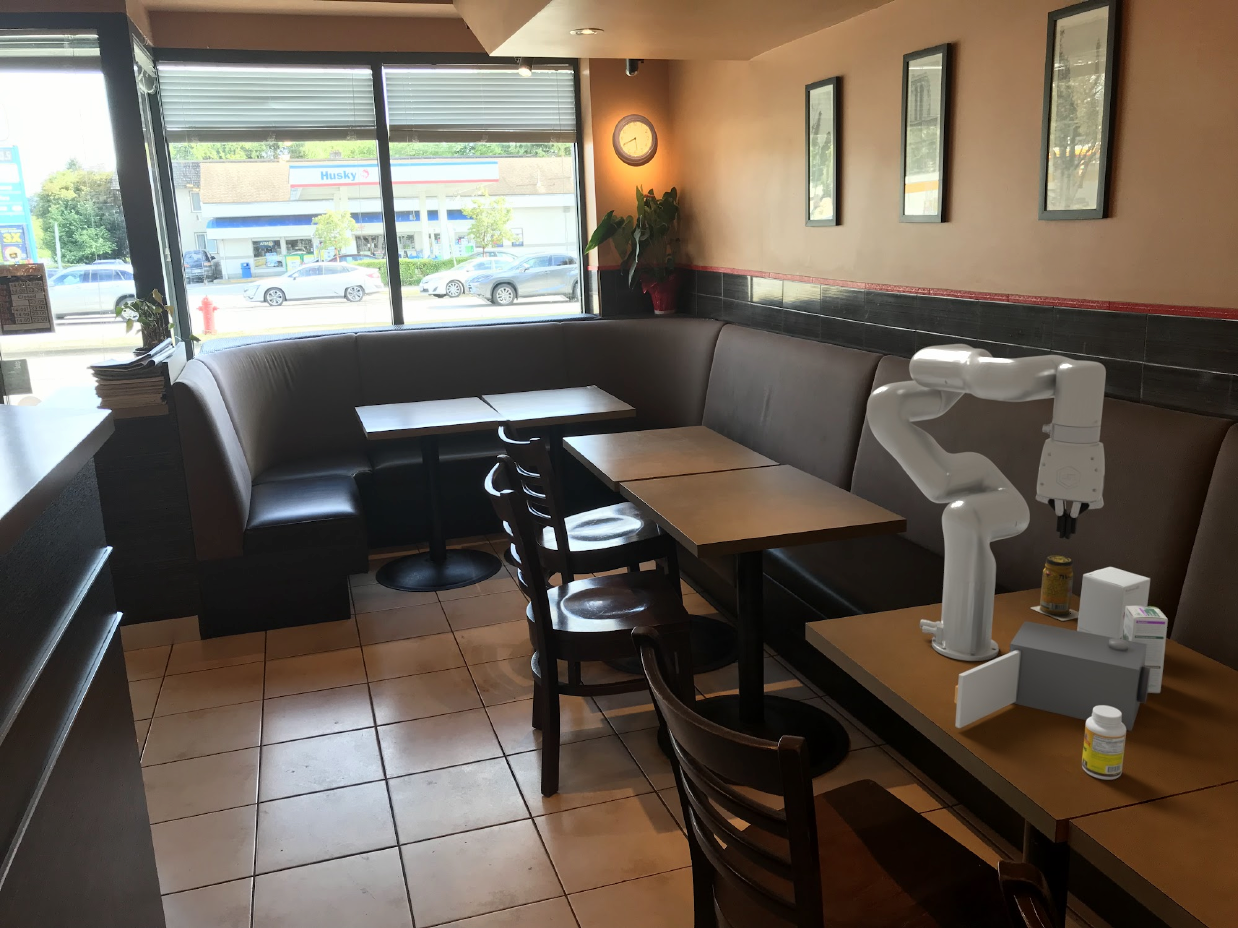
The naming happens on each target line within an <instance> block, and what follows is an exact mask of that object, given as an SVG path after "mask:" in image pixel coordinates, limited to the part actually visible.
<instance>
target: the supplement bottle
mask: <svg viewBox="0 0 1238 928" xmlns="http://www.w3.org/2000/svg"><path fill="white" fill-rule="evenodd" d="M1121 718H1122V713H1121V712H1120V711H1119V710H1118V709H1116V708H1114V707H1110V706H1105V705H1099V706H1095V707H1094V708H1093V713H1092V716H1091V717H1089V718H1088V719H1087V720H1085V727H1084V735H1083V745H1082V746H1083V748H1082V758H1081V767H1082V769H1083V771H1084V772H1085V773H1086V774H1088V775H1089V776H1091V777H1094V778H1096V779H1101V780H1107V781H1108V780H1110V781H1111V780H1115V779H1117V778H1119V777H1121V775H1122V773H1123V762H1124V754H1125V744H1126V735H1127V730H1126V727H1125V725H1124V724H1123V723H1122V722H1121V721H1122V719H1121Z"/></svg>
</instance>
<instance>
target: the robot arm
mask: <svg viewBox="0 0 1238 928" xmlns="http://www.w3.org/2000/svg"><path fill="white" fill-rule="evenodd" d="M908 366H909V367H908V370H909V375H910V377H911V379H912V380H905V381H898V382H892V383H887V384H883V385H882V386H879V387H878V388H876V389H875V390H874V391H872V392H871V394H870V395H869V397H868V400H867V404H866V418H867V420H868V421H867V422H868V426H869V428H870V430H871V432H872V434H873V435H874V437H875V438H876V440H877V441H878V443H879V444H880V445H881V446H882V447H883V448H884V449H885V450H886V451H887V452H888V453H889V454H890V455H891V456H892V457H893V458H894V459H895V460H896V461H897V462H898V464H899V465H900V466H901V468H902V470H903V471H905V473H906V474H907V475H908V476H909V478H910V479H911V480H912V481H913V483H914V484H915V486H916V487H918V489H919V490H920V491H921V492H922V493H923V495H924V496H925V497H926V498H927V499H928V500H929V501H931V502H933V503H935V504H947V505H946V507H945V508H944V510H943V512H942V516H941V525H942V532H943V538H944V539H943V540H944V568H943V569H944V571H943V572H944V573H943V585H942V587H943V589H942V602H941V603H942V604H941V617H940V618H941V619H940V620H941V621H939V620H936V621H931V620H928V619H923V618H922V619H920V622H919V628H920V629H922V633H924V634H930V635H933V636H932V638H931V646H932V649H934V651H936V652H937V653H939V654H941V655H943V656H945V657H947V658H951V659H954V660H959V661H967V662H982V661H983V662H984V661H988V660H989V661H990V660H991V659H995V657H997V655H999V649H1000V648H999V647H1000V646H999V644H998V643H997V642H996V641H995V640H993V639H992V631H993V619H994V618H993V615H994V604H995V603H994V602H995V589H996V576H997V575H996V574H997V563H996V558H995V555H994V554H993V552H992V550H991V546H990V543H991V542H995V541H998V540H1002V539H1008V538H1011V537H1012V538H1013V537H1015V536H1017V535H1020V534H1021V533H1023V532H1024V531H1025V530H1026V529H1027V528H1028V527H1029V523H1030V518H1031V517H1030V509H1029V506H1028V504H1027V501H1026V499H1025V498H1024V497H1023V495H1022V494H1021V493H1020V492H1019V490H1018V489H1017V488H1016V486H1015V485H1013V484H1012V482H1011V481H1010V480H1009V479H1008V478H1007V477H1006V476H1005V475H1004V474H1003V472H1001V470H1000V469H999V468H998V467H997V466H996V465H995V463H993V461H991V460H990V459H989V458H988V457H986V456H985V455H983V454H981V453H978V452H973V451H965V452H958V453H951V452H947V451H946V450H945V449H944V448H942V446H940V444H938V442H937V441H936V439H935V438H934V437H933V436H932V435H931V434H929V433H928V432H927V431H926V430H923V429H922V428H921V427H919V426H916V425H915V424H914V423H913V422H919V421H926V420H932V419H937V418H938V417H940V416H943V415H944V414H945V413H946V412H948V411H949V410H950V409H951V408H952V407H953V406H954V405H955V404H956V403H957V402H958V400H960V398H961V397H962V396H963V395H965V393H966V394H971V395H972V396H974V397H976V398H979V399H984V400H991V401H992V400H993V401H999V402H1011V403H1019V402H1028V401H1034V400H1044V399H1052V398H1054V400H1053V410H1052V411H1053V412H1052V419H1051V420H1052V421H1051V422H1050V423H1048V424H1043V425H1042V433H1047V434H1048V435H1049V438H1048V439H1046V440H1045V441H1044V444H1043V447H1042V451H1041V455H1040V456H1041V457H1040V462H1039V468H1038V474H1037V481H1036V494H1035V495H1036V496H1035V500H1037V501H1038V502H1041V503H1042V504H1043V503H1044V504H1048V505H1049V506H1050V508H1051V509H1052V510H1053V511H1054V512H1055V514H1056V516H1057V519H1056V529H1055V530H1056V533H1057V532H1058V533H1059V539H1062V540H1063V539H1066V540H1070V539H1071V538H1072V537H1073V535H1076V533H1077V528H1078V518H1079V516H1080V515H1081V514H1083V513H1084V512H1085V511H1087V510H1095V509H1102V508H1103V506H1104V505H1105V503H1104V499H1103V494H1104V489H1105V488H1104V487H1105V474H1106V473H1105V472H1106V469H1105V465H1106V463H1105V461H1106V459H1105V449H1104V443H1103V442H1100V439H1101V438H1100V436H1101V426H1102V415H1103V405H1104V397H1105V385H1106V375H1107V374H1106V373H1107V371H1106V367H1105V366H1104V364H1102V363H1100V362H1098V361H1092V360H1076V359H1073V358H1069V357H1066V356H1063V355H1057V354H1048V355H1038V356H1037V355H1036V356H1026V357H1017V358H1003V357H1001V358H1000V357H993V355H992V354H991V353H990V352H989V351H988V350H986V349H983V348H974V347H973V346H970V345H968V344H965V343H954V344H943V345H942V344H941V345H931V346H927V347H924V348H922V349H920V350H918V351H917V352H915V354H914V355H913V356H912V357H911V359H910V362H909V365H908ZM1067 501H1068V502H1073V503H1072V507H1071V510H1070V511H1069V512H1068V509H1067V508H1066V507H1067V506H1066V504H1067V503H1066V502H1067Z"/></svg>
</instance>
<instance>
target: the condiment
mask: <svg viewBox="0 0 1238 928" xmlns="http://www.w3.org/2000/svg"><path fill="white" fill-rule="evenodd" d="M1073 564H1074V563H1073V560H1072V559H1071V558H1069V557H1068V556H1062V555H1050V556H1047V557H1046V559H1045V564H1044V566H1045V567H1044V569H1043V570H1042V578H1041V579H1042V580H1041V587H1040V588H1041V590H1040V600H1039V601H1040V602H1039V605H1037V606H1032V607H1030V609H1031V610H1034V611H1036V612H1039V613H1041V614H1044V615H1046V616H1050V617H1052V618H1053V619H1056V620H1057V619H1058V620H1060V621H1068V620H1073V619H1078V617H1079V611H1076V610H1074V609H1071V604H1072V603H1071V601H1072V592H1073V581H1074V573H1073ZM1069 611H1071V612H1069ZM1070 613H1071V614H1070Z"/></svg>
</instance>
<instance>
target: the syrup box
mask: <svg viewBox="0 0 1238 928" xmlns="http://www.w3.org/2000/svg"><path fill="white" fill-rule="evenodd" d="M1168 622H1169V620H1168V618H1167V617H1166V615H1165V614H1164V613H1163V611H1161V609H1159V607H1157V606H1151V605H1149V606H1148V605H1147V606H1126V607H1125V617H1124V627H1123V640H1128V641H1133V642H1138V643H1144V644H1147V648H1146V657H1145V665H1144V667H1148V668H1150V680H1149V688H1148V694H1151V693H1152V694H1160V693H1161V691H1162V688H1161V687H1162V682H1163V681H1162V679H1163V670H1164V664H1165V663H1164V661H1165V651H1166V640H1167V631H1168V628H1167V627H1168Z"/></svg>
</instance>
